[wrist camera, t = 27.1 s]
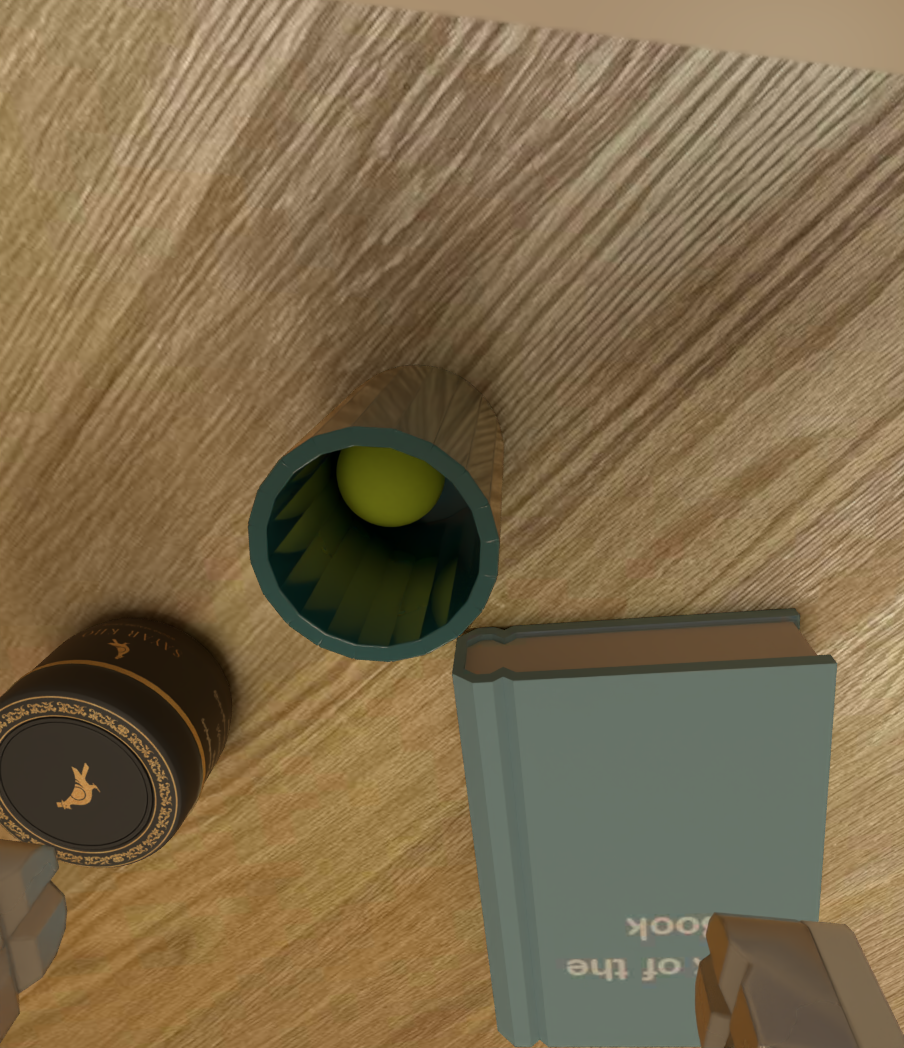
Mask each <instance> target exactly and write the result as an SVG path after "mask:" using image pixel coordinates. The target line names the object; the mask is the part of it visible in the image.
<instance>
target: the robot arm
mask: <svg viewBox="0 0 904 1048" xmlns="http://www.w3.org/2000/svg"><path fill="white" fill-rule="evenodd" d="M58 869H59V865H58V861H57V857H56V853H55V849H54V847H50V846H46V845H42V844H34V843H26V842H19V841H11V840H3V839H0V1043H1V1041H2V1040H3V1038H4V1037H5V1035H6V1034H7V1032H8V1030H9V1029H10V1027H11V1026H12V1024H13V1023H14V1021H15V1020H16V1018H17V1017H18V1015H19V1013H20V1009H19V993H20V992H22V991H23V990H25V989H26V988H28V987H29V986H31V985H32V984H34V983H35V982H37V981H38V980H39V979H41V978H42V977H43V976H44V974H45V973H46V971H47V969H48V968H49V966H50V964H51V963H52V961H53V959H54V958H55V956H56V954H57V952H58V949H59V946H60V943H61V940H62V937H63V935H64V932H65V929H66V917H67V906H66V901H65V895H64V894H63V893H62V892H61V891H60V890H59V889H58V888H57V887H56V886H55V884H54V883H53V882H52V881H51V879H52V877H53V876H54V875H55V873H56V872H57V870H58ZM706 939H707V943H708V947H709V951H710V954H709V955H708V956H707V957H705V958H704V959H703V960H701V961H700V962H699V966H698V971H697V976H696V981H695V1013H696V1021H697V1029H698V1034H699V1039H700V1044H701V1048H904V1035H903V1033H902V1031H901V1029H900V1027H899V1024H898V1022H897V1020H896V1018H895V1016H894V1014H893V1012H892V1010H891V1008H890V1006H889V1004H888V1002H887V1000H886V998H885V996H884V994H883V992H882V989H881V987H880V985H879V983H878V981H877V979H876V977H875V975H874V973H873V971H872V969H871V967H870V965H869V963H868V961H867V959H866V957H865V954H864V952H863V950H862V948H861V946H860V944H859V942H858V940H857V938H856V936H855V934H854V932H853V931H852V930H851V929H850V928H849V927H848V926H847V925H846V924H835V923H825V922H815V921H804V920H801V921H798V920H796V919H787V918H776V917H765V916H753V915H742V914H731V913H720V912H714V913H713V915H712V916H711V918H710V919H709V923H708V927H707V931H706Z"/></svg>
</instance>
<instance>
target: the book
mask: <svg viewBox="0 0 904 1048" xmlns="http://www.w3.org/2000/svg"><path fill="white" fill-rule="evenodd" d="M799 626H800V614H799V613H798V612H797V611H796V609H795V608H793V609H777V610H761V611H745V612H729V613H713V614H697V615H681V616H665V617H649V618H633V619H617V620H601V621H585V622H569V623H553V624H537V625H520V626H512V627H510V628H508V629H506V630H502V629H499V628H496V627H488V628H477V629H475V630H473V631H471V632H469V633H467V634H465V635H463V636H461V637H459V638H457V644H456V651H455V658H454V665H453V672H452V676H453V684H454V691H455V699H456V707H457V715H458V723H459V731H460V738H461V746H462V754H463V762H464V770H465V778H466V785H467V793H468V801H469V809H470V817H471V824H472V832H473V840H474V848H475V856H476V864H477V871H478V879H479V887H480V895H481V903H482V911H483V918H484V926H485V934H486V942H487V950H488V958H489V965H490V973H491V981H492V989H493V997H494V1005H495V1012H496V1020H497V1028H498V1031H499V1032H500V1033H501V1034H502V1035H503V1036H504V1037H505V1038H506V1039H507V1040H508V1041H509V1042H511V1043H512V1044H513V1045H514V1046H515V1047H532V1046H533V1045H534V1044H535V1043H536V1042H538V1041H539V1040H541V1041H542V1042H543V1043H544V1044H546V1045H547V1046H548V1047H701V1044H700V1039H699V1034H698V1029H697V1021H696V1013H695V981H696V976H697V971H698V966H699V962H700V961H701V960H703V959H704V958H705V957H707V956H708V955H709V954H710V951H709V947H708V943H707V939H706V931H707V927H708V923H709V919H710V918H711V916H712V915H713V913H714V912H720V913H731V914H742V915H753V916H765V917H776V918H787V919H796V920H798V921H801V920H804V921H815V922H818V920H819V907H820V893H821V879H822V865H823V851H824V838H825V824H826V810H827V796H828V783H829V769H830V755H831V741H832V728H833V714H834V700H835V686H836V673H837V663H836V661H835V660H834V659H833V657H832V656H831V655H817V654H816V653H815V651H814V650H813V649H812V647H811V646H810V645H809V643H808V642H807V640H806V639H805V638H804V636H803V635H802V634H801V632H800V631H799Z"/></svg>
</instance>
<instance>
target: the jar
mask: <svg viewBox="0 0 904 1048" xmlns="http://www.w3.org/2000/svg"><path fill="white" fill-rule="evenodd" d="M231 715H232V698H231V692H230V688H229V685H228V682H227V679H226V677H225V675H224V673H223V671H222V669H221V667H220V666H219V664H218V663H217V661H216V660H215V659H214V658H213V656H212V655H211V654H210V653H209V652H208V651H207V650H206V649H205V648H204V647H203V646H202V645H201V644H200V643H199V642H197V641H196V640H195V639H193V638H192V637H191V636H189V635H187V634H186V633H184V632H182V631H180V630H179V629H177V628H174V627H172V626H170V625H167V624H164V623H161V622H158V621H154V620H149V619H142V618H122V619H115V620H111V621H107V622H104V623H101V624H99V625H96V626H93V627H91V628H88V629H86V630H84V631H82V632H80V633H78V634H76V635H74V636H73V637H71V638H70V639H68V640H67V641H65V642H64V643H63V644H62V645H60V646H59V647H58V648H57V649H56V650H55V651H53V652H52V653H51V654H50V655H49V656H48V657H47V658H45V659H44V660H43V661H42V662H41V663H40V664H39V665H38V666H36V667H35V668H34V669H33V670H32V671H30V672H29V673H27V674H25V675H24V676H23V677H21V678H20V679H19V680H18V681H16V682H15V683H14V684H13V685H12V686H11V687H10V688H9V689H8V690H7V691H6V693H4V694H3V695H2V696H1V697H0V825H1V826H2V827H3V828H4V829H6V830H7V831H8V832H9V833H10V834H11V835H12V836H14V837H15V838H16V839H18V840H19V841H20V842H26V843H34V844H42V845H46V846H50V847H54V849H55V853H56V857H57V860H58V861H61V862H64V863H68V864H72V865H77V866H83V867H93V868H110V867H118V866H124V865H128V864H132V863H135V862H137V861H140V860H142V859H144V858H146V857H148V856H150V855H152V854H153V853H155V852H157V851H158V850H159V849H161V848H162V847H163V846H164V845H165V844H166V843H167V842H168V841H169V840H170V839H171V838H172V837H173V836H174V834H175V833H176V832H177V830H178V829H179V827H180V826H181V825H182V823H183V821H184V820H185V819H186V817H187V816H188V815H189V814H190V812H191V811H192V810H193V808H194V806H195V804H196V803H197V801H198V799H199V797H200V795H201V792H202V789H203V787H204V783H205V781H206V780H207V778H208V776H209V774H210V773H211V771H212V769H213V767H214V766H215V764H216V762H217V760H218V759H219V757H220V755H221V753H222V751H223V749H224V746H225V744H226V741H227V737H228V733H229V728H230V722H231Z"/></svg>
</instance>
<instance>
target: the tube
mask: <svg viewBox="0 0 904 1048" xmlns="http://www.w3.org/2000/svg"><path fill="white" fill-rule="evenodd" d="M353 446H363V447H381V448H391V449H394V450H397V451H399V452H402V453H405V454H407V455H410V456H413V457H415V458H418V459H421V460H423V461H425V462H426V463H428V464H429V465H430V466H432V467H433V468H434V469H436V470H437V471H438V472H439V473H441V474H442V475H443V476H445V482H444V487H443V490H442V493H441V495H440V497H439V499H438V501H437V503H436V504H435V505H434V507H433V508H432V509H431V510H430V511H429V512H428V513H427V514H426V515H425V516H423V517H422V518H420V519H419V520H417V521H415V522H413V523H411V524H407V525H403V526H398V527H384V526H379V525H375V524H372V523H370V522H368V521H366V520H364V519H362V518H360V517H359V516H358V515H356V514H355V513H354V512H353V511H352V510H351V509H350V508H349V506H348V505H347V504H346V502H345V501H344V499H343V497H342V495H341V493H340V490H339V487H338V482H337V475H336V472H337V462H338V458H339V455H340V452H341V450H342V449H346V448H350V447H353ZM503 467H504V442H503V436H502V431H501V428H500V424H499V422H498V419H497V417H496V415H495V412H494V411H493V409H492V407H491V406H490V404H489V403H488V401H487V400H486V399H485V397H484V396H483V395H482V394H481V393H480V392H479V391H478V390H477V389H476V388H475V387H474V386H473V385H471V384H470V383H469V382H467V381H466V380H465V379H463V378H461V377H460V376H458V375H456V374H454V373H452V372H449V371H447V370H444V369H441V368H437V367H433V366H426V365H405V366H399V367H395V368H391V369H388V370H385V371H383V372H381V373H378V374H376V375H375V376H373V377H371V378H370V379H368V380H367V381H366V382H364V383H363V384H362V385H360V386H359V387H357V388H356V389H355V390H354V391H353V392H352V393H351V394H349V395H348V396H347V397H346V398H345V399H344V400H343V401H342V402H341V403H340V404H339V405H338V406H336V407H335V408H334V409H333V410H332V411H331V412H330V413H329V414H328V415H327V416H326V417H325V418H323V419H322V420H321V421H320V422H319V423H318V424H317V425H316V426H315V427H314V428H313V429H312V430H311V431H309V432H308V433H307V434H306V435H305V436H304V437H303V438H302V439H301V440H300V441H299V442H298V443H296V444H295V445H294V446H293V447H292V448H291V449H290V450H289V451H288V452H287V453H286V454H285V455H283V456H282V458H280V459H279V460H278V462H277V463H276V465H275V466H274V467H273V469H272V470H271V471H270V473H269V474H268V476H267V477H266V478H265V480H264V481H263V482H262V484H261V485H260V487H259V489H258V490H257V493H256V497H255V501H254V504H253V508H252V511H251V515H250V518H249V522H248V524H249V525H248V534H249V550H250V560H251V565H252V567H253V570H254V572H255V575H256V577H257V580H258V582H259V585H260V587H261V590H262V592H263V594H264V595H265V597H266V598H267V600H268V601H269V602H270V603H271V605H272V606H273V607H274V608H275V610H276V611H277V612H278V613H279V615H280V616H281V617H282V618H283V620H284V621H285V622H286V623H287V624H288V623H289V624H288V625H289V626H290V627H292V628H293V629H294V630H296V631H297V632H299V633H300V634H301V635H303V636H304V637H306V638H307V639H309V640H310V641H311V642H313V643H314V644H316V645H319V646H320V647H321V648H324V649H327V650H330V651H332V652H335V653H338V654H341V655H344V656H346V657H349V658H354V659H357V660H370V661H384V662H390V661H392V662H394V661H399V660H403V659H408V658H413V657H418V656H422V655H426V654H428V653H430V652H432V651H434V650H436V649H438V648H439V647H441V646H443V645H445V644H447V643H448V642H450V641H452V640H454V639H456V638H457V637H458V636H460V635H461V634H462V633H463V632H464V631H465V630H466V628H467V627H468V626H469V625H470V624H471V623H472V622H473V621H474V620H475V619H476V618H477V617H478V615H479V614H480V613H481V612H482V610H483V609H484V608H485V605H486V603H487V601H488V598H489V596H490V594H491V591H492V589H493V587H494V584H495V582H496V580H497V576H498V565H499V549H500V531H501V509H502V488H503Z"/></svg>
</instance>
